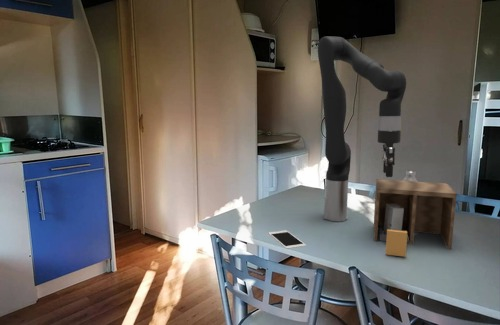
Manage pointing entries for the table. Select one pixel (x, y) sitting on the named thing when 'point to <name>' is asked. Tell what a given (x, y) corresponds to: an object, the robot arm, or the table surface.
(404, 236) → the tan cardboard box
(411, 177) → the plastic bottle
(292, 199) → the table surface
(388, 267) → the table surface
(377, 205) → the cubby shelf
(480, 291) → the table surface
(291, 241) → the cell phone
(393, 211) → the skincare box
